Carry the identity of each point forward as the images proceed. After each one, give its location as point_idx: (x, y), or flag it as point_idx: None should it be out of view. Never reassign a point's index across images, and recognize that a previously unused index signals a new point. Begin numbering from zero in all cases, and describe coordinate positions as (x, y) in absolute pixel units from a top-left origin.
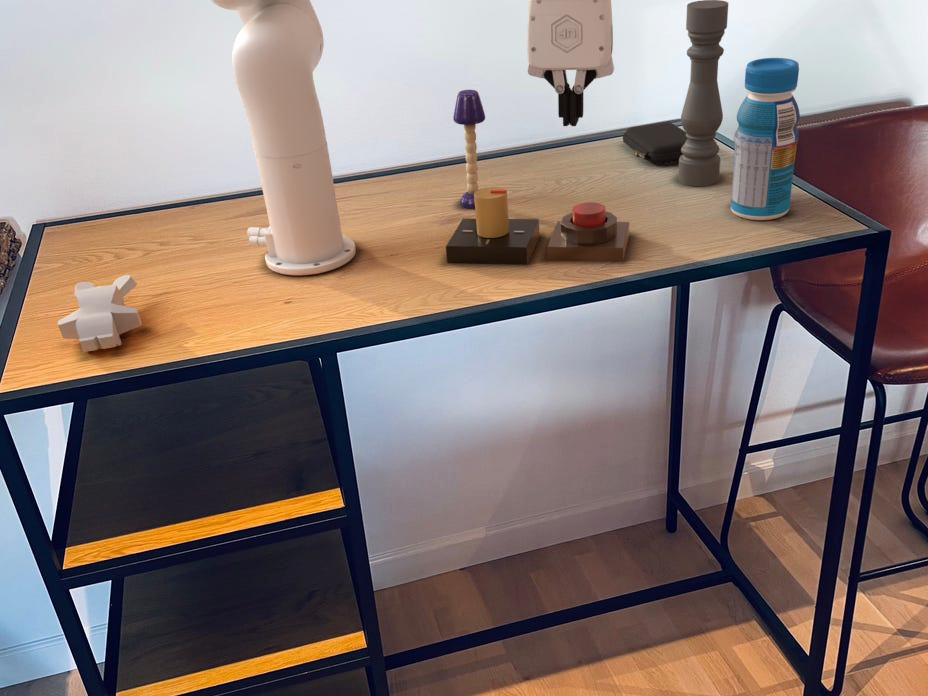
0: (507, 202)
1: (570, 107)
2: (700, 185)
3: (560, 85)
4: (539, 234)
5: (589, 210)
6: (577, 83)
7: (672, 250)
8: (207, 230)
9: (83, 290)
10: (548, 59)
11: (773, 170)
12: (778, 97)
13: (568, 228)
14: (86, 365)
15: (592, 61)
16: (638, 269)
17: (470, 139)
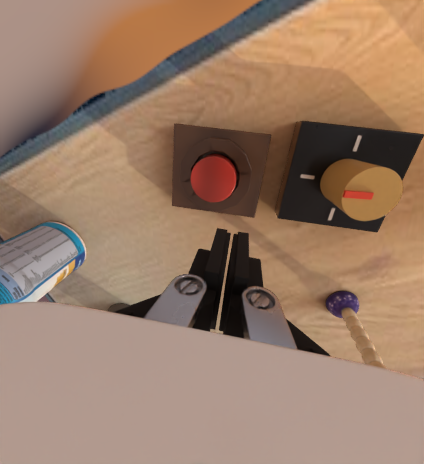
0: (335, 191)
1: (225, 254)
2: (121, 303)
3: (257, 310)
4: (275, 210)
5: (211, 170)
6: (188, 299)
7: (128, 156)
8: None
9: None
10: (382, 431)
11: (2, 243)
12: None
13: (242, 150)
14: None
15: (30, 334)
16: (160, 100)
17: (379, 365)
